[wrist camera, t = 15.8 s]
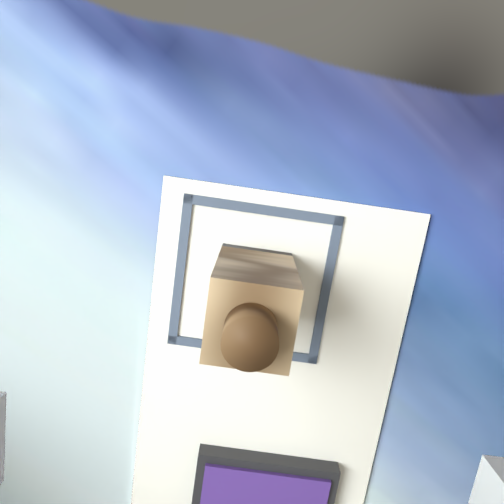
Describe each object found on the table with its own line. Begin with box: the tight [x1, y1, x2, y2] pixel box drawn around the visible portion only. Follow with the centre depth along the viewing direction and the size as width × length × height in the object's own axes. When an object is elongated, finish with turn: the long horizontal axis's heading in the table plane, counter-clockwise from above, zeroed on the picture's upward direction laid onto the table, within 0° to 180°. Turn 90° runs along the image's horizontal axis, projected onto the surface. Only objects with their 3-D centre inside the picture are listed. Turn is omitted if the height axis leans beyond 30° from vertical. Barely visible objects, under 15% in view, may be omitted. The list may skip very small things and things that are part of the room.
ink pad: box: [192, 443, 341, 504], centre depth 33 cm, size 10×7×2 cm
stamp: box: [199, 243, 304, 376], centre depth 25 cm, size 4×4×10 cm
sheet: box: [131, 175, 431, 504], centre depth 31 cm, size 17×26×1 cm, turn 172°
